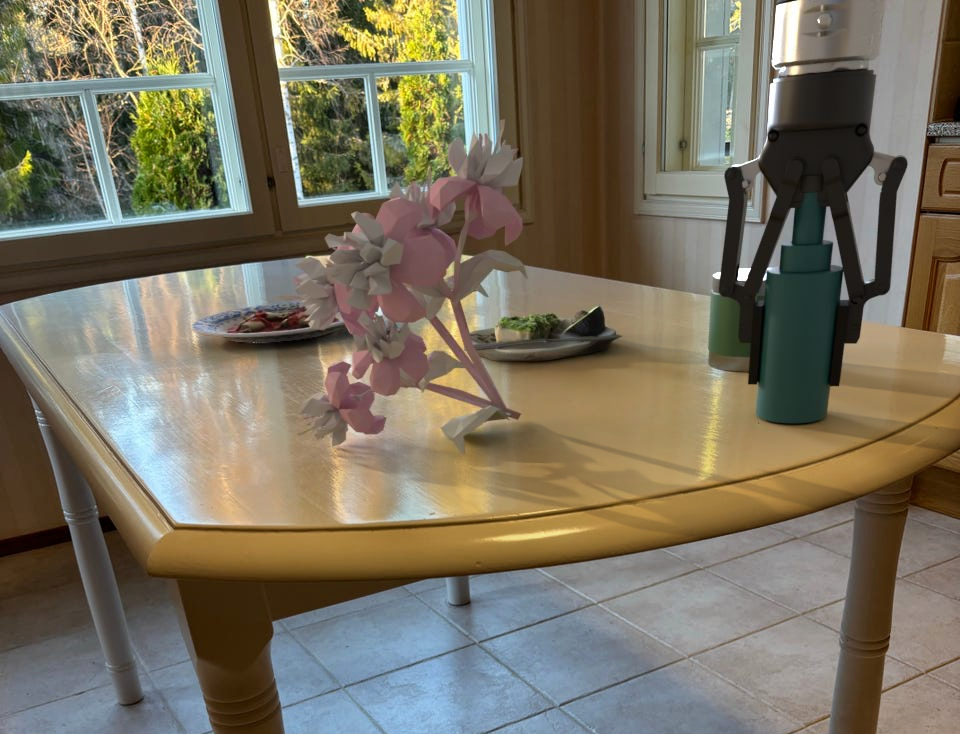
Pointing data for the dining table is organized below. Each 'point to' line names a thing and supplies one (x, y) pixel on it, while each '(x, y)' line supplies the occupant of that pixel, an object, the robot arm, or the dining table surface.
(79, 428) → the dining table surface
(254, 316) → the ceramic plate
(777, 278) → the bottle
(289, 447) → the dining table surface
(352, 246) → the flower
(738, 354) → the tin
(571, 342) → the salad plate
